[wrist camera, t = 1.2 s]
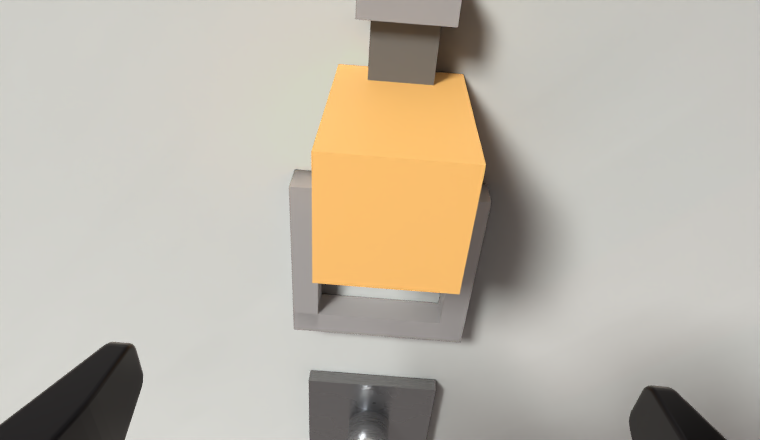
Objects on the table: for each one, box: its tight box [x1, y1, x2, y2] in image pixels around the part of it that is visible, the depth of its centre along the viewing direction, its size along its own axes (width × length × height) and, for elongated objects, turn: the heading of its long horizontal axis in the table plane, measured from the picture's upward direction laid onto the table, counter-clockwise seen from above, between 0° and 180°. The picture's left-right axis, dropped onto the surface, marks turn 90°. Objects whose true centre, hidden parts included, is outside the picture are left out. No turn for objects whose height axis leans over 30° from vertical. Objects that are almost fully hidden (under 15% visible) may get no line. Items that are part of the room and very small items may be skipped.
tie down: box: [289, 0, 491, 342], centre depth 15 cm, size 20×7×6 cm, turn 176°
